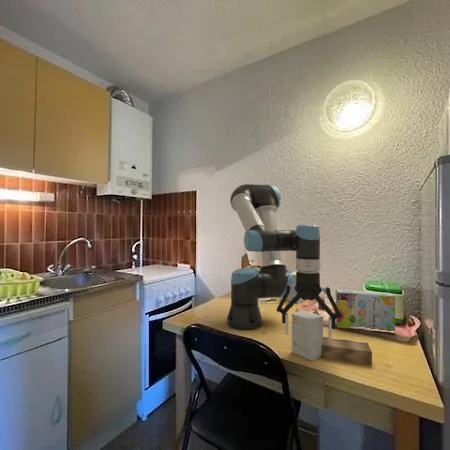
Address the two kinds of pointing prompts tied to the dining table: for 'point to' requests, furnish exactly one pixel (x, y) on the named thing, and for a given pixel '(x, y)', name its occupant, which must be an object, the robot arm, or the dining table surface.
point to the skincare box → (294, 289)
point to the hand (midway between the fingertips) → (307, 335)
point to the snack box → (366, 309)
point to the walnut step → (347, 350)
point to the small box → (307, 334)
